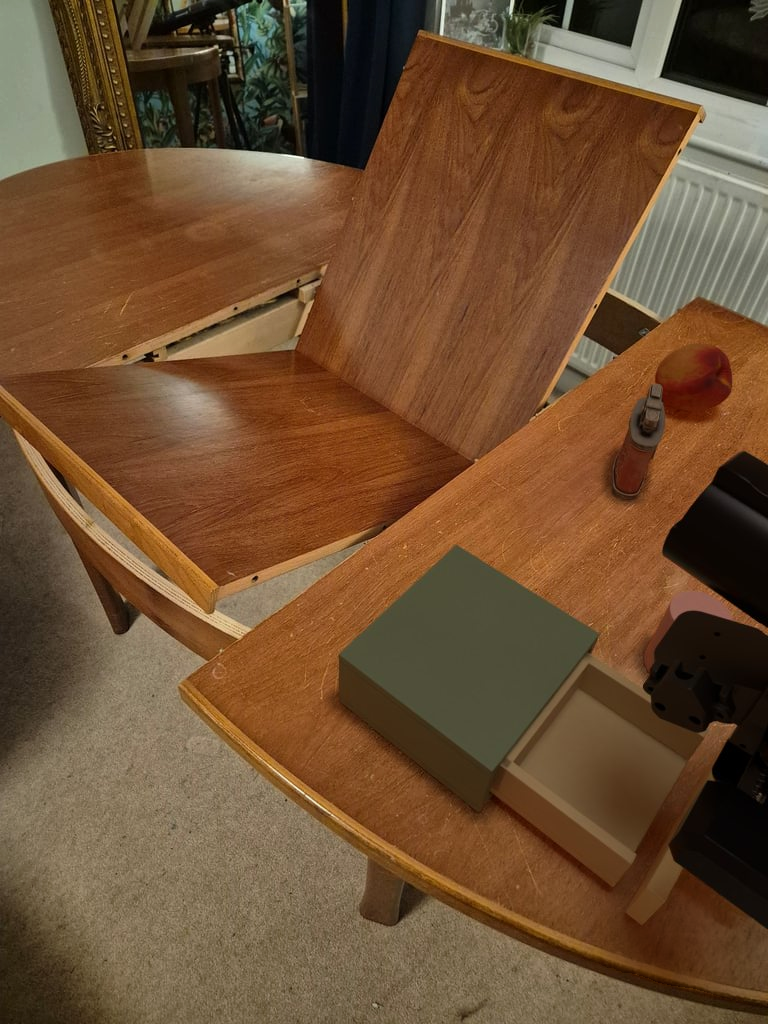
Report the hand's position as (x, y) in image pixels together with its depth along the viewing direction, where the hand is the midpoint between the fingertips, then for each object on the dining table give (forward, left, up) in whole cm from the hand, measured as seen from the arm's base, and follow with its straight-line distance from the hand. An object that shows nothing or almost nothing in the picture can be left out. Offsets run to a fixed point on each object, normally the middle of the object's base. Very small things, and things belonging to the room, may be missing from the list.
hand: (737, 813), depth 46 cm
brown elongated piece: (+22, -33, -8) cm, 40 cm away
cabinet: (+20, 0, -8) cm, 21 cm away
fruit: (+23, -49, -8) cm, 55 cm away
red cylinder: (+8, -14, -8) cm, 18 cm away
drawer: (+5, 0, -7) cm, 8 cm away
